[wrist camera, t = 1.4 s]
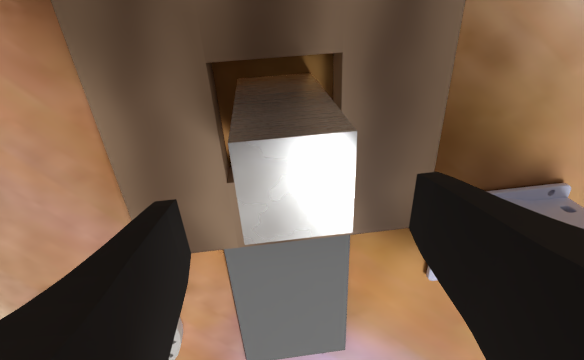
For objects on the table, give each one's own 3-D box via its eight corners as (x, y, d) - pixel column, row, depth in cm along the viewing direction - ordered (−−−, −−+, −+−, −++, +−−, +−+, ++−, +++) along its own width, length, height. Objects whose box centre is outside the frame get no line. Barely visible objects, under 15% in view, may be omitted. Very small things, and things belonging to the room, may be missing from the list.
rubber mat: (349, 227, 24) (350, 229, 23) (344, 346, 30) (345, 349, 30) (223, 241, 23) (222, 244, 23) (247, 360, 30) (247, 363, 30)
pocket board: (453, -70, 15) (479, -79, 14) (411, 209, 23) (424, 226, 22) (56, -50, 14) (30, -56, 12) (154, 237, 22) (145, 258, 20)
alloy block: (310, 72, 18) (357, 130, 10) (312, 140, 20) (352, 232, 12) (237, 78, 18) (227, 143, 10) (246, 146, 20) (244, 245, 12)
